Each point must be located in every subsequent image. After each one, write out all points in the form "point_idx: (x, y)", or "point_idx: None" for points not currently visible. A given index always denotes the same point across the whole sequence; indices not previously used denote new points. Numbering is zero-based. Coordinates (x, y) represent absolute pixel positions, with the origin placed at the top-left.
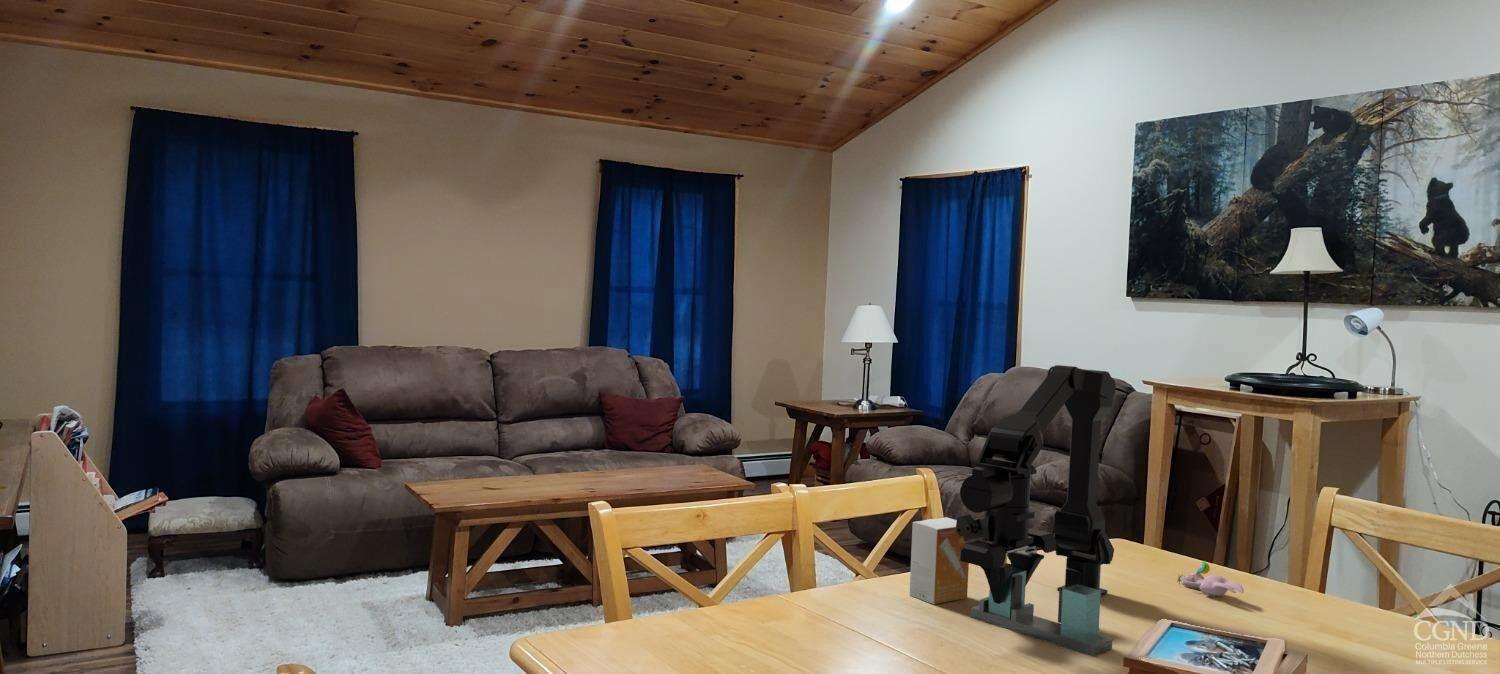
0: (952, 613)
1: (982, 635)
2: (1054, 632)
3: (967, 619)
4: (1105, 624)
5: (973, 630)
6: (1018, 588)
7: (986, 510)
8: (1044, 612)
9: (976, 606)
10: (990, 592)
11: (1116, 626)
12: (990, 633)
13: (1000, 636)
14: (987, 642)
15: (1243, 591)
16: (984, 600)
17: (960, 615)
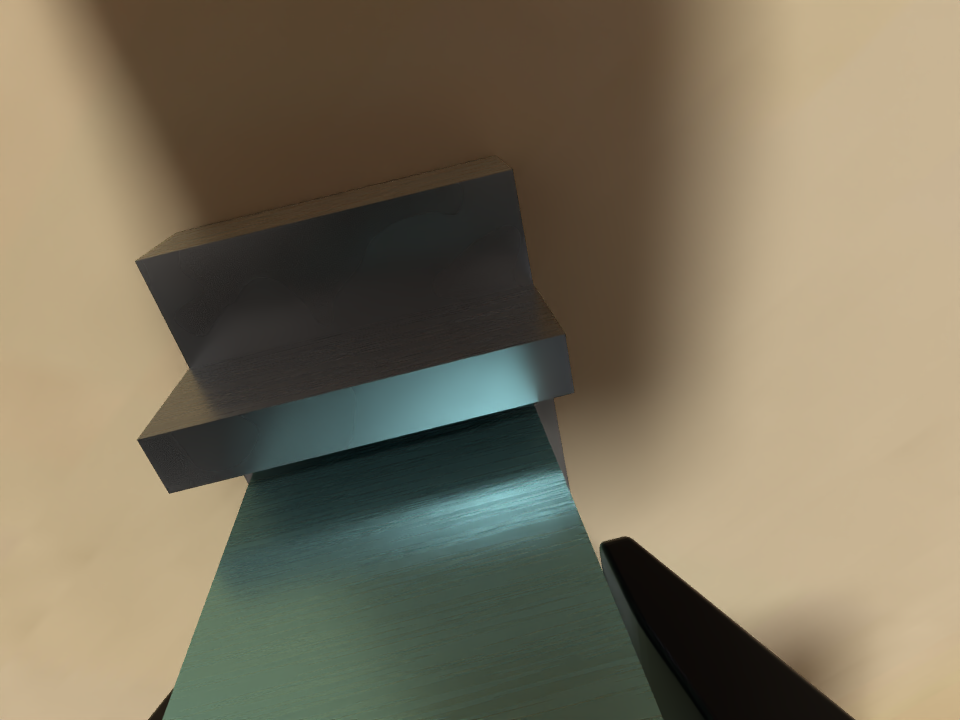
0: (10, 18)
1: (40, 605)
2: None
3: (104, 272)
4: (946, 643)
5: (14, 512)
6: None
7: None
8: (894, 376)
9: (242, 240)
10: (210, 625)
11: (955, 673)
12: (132, 591)
13: (176, 645)
14: (10, 699)
15: None
16: (185, 488)
17: (86, 130)
